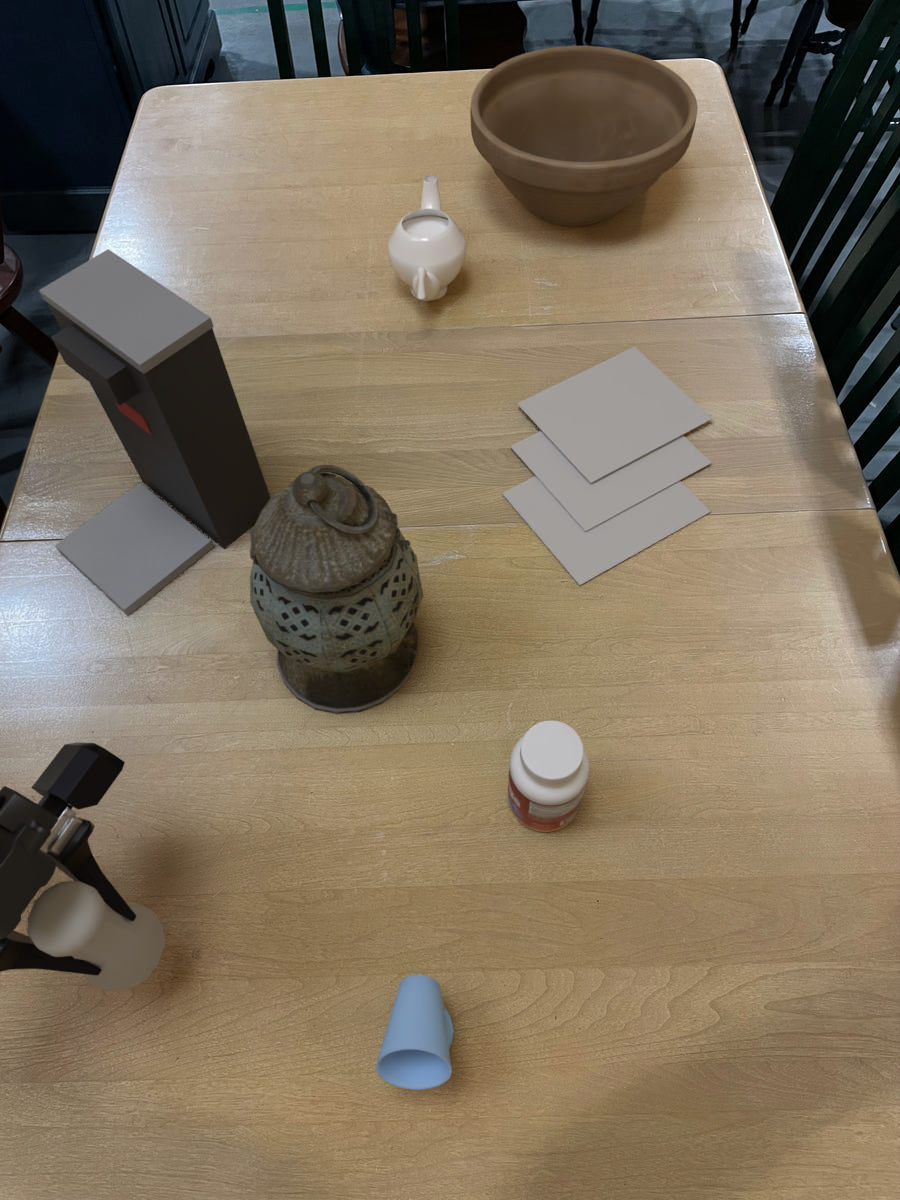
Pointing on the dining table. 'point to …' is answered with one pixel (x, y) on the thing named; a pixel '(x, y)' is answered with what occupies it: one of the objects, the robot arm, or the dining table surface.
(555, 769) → the pill bottle
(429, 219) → the teapot
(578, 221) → the flower pot
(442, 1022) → the blue mug
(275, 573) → the lantern
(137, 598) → the coffee maker
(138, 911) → the salt shaker
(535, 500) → the paper stack
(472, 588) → the dining table surface
